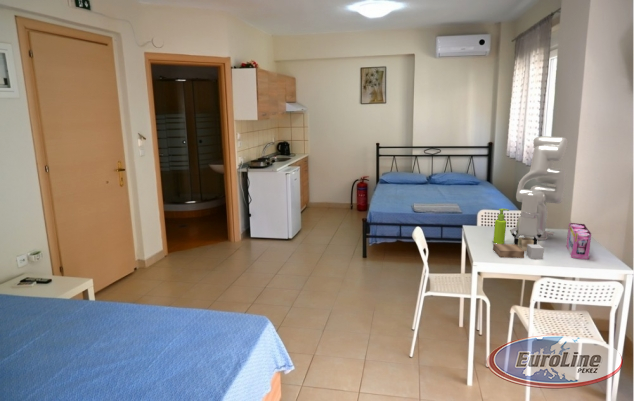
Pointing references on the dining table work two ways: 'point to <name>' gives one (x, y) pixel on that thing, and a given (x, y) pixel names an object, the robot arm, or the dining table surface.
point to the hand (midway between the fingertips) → (525, 245)
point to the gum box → (578, 241)
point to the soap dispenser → (500, 228)
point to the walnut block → (508, 250)
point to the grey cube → (535, 251)
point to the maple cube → (524, 242)
